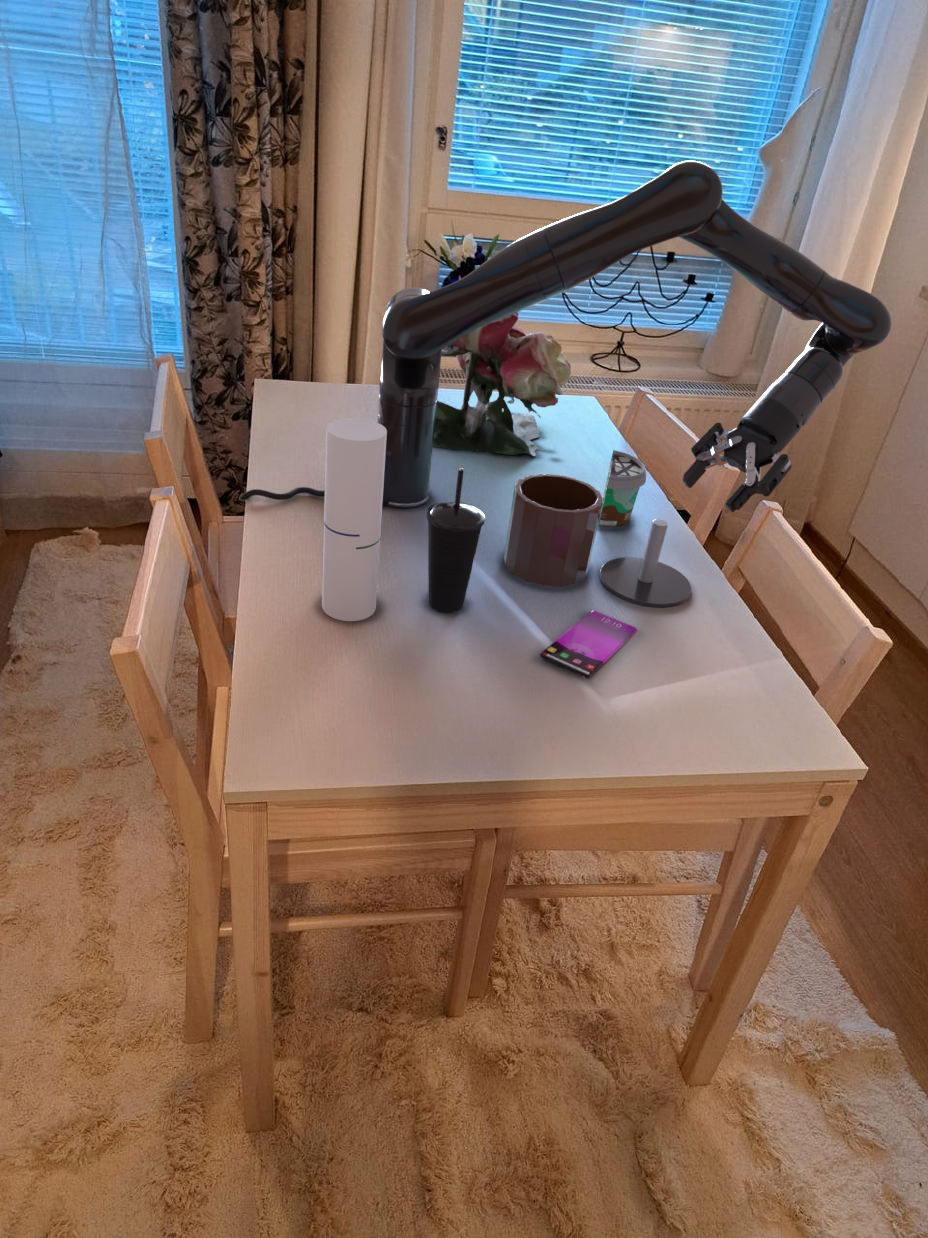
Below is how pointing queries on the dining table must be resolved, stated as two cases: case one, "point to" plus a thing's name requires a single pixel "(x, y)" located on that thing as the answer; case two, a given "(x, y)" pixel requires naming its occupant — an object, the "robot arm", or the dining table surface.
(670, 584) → the lid
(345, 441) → the cylindrical container
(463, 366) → the rose bouquet
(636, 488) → the food container
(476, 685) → the dining table surface
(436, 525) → the drinking cup
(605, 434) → the dining table surface
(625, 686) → the dining table surface
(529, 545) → the brown cylindrical pot
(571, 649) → the smartphone
